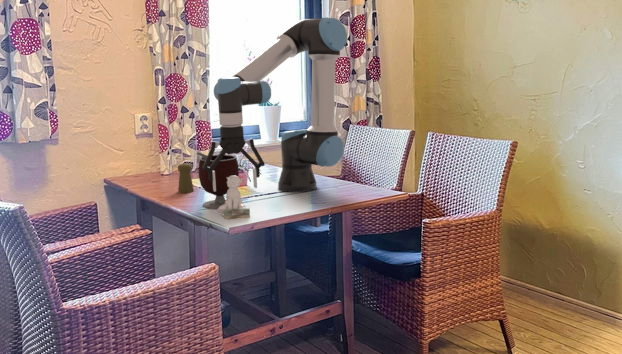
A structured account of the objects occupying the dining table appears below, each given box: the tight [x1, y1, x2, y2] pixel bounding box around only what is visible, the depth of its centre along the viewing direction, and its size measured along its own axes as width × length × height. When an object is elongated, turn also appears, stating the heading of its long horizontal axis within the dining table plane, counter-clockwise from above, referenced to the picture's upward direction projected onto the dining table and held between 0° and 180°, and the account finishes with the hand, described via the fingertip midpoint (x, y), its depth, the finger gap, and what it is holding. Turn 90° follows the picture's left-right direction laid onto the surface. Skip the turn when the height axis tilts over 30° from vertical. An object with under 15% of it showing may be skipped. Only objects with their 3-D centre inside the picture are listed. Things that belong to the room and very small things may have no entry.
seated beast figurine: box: [216, 175, 247, 215], centre depth 208 cm, size 10×9×12 cm
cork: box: [177, 162, 195, 194], centre depth 245 cm, size 6×6×11 cm
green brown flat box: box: [222, 207, 251, 220], centre depth 208 cm, size 8×11×3 cm
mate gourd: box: [196, 152, 239, 210], centre depth 219 cm, size 16×14×20 cm
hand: (235, 188), depth 208 cm, fingers open, 13 cm apart
